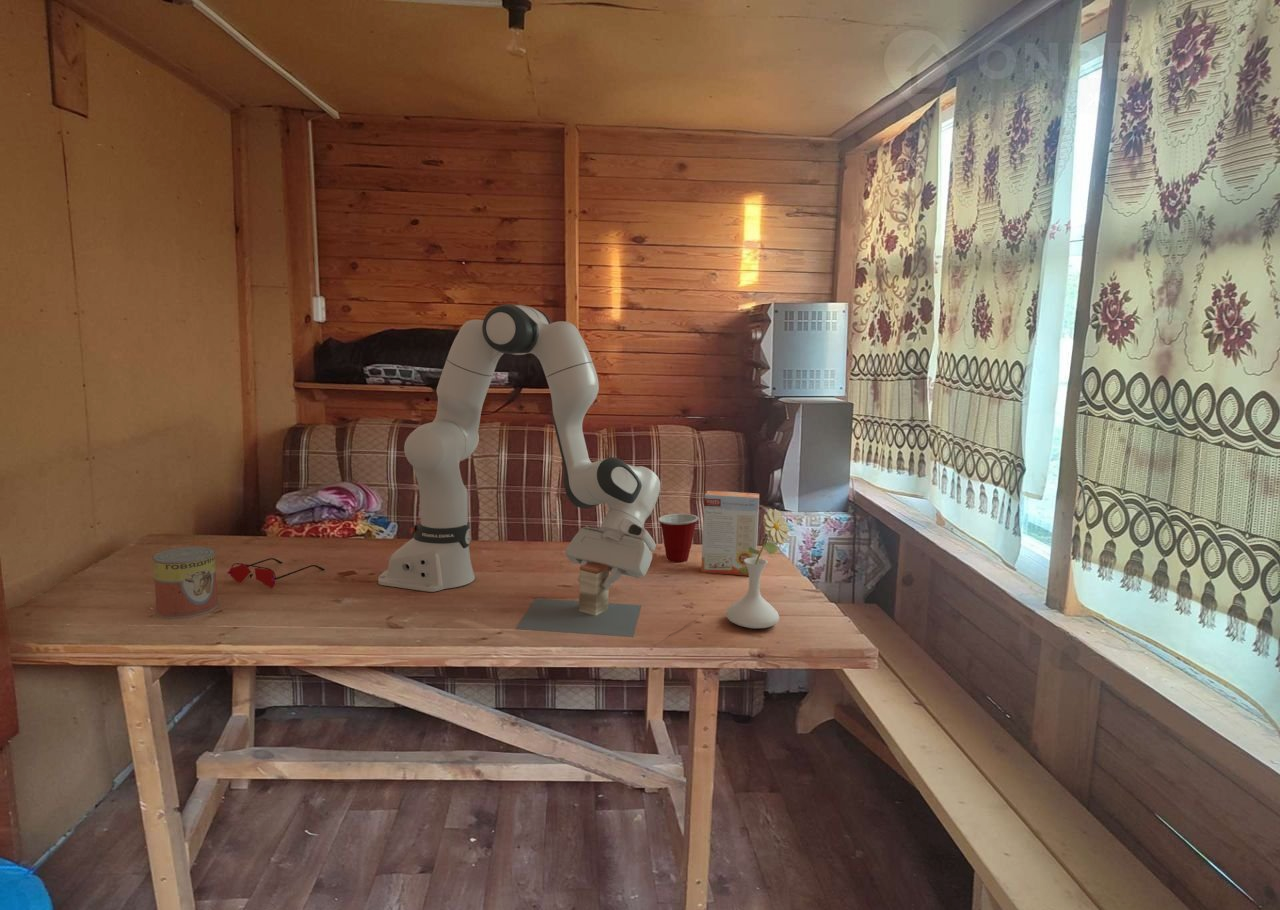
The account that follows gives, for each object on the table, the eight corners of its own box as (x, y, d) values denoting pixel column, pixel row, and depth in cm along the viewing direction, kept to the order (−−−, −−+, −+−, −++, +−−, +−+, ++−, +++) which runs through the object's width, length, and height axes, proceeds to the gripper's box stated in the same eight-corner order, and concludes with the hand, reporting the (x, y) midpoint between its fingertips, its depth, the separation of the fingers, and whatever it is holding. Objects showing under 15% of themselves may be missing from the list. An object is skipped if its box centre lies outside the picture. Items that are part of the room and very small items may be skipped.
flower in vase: (743, 636, 155) (749, 517, 151) (715, 617, 165) (721, 505, 161) (796, 628, 160) (804, 513, 156) (766, 610, 170) (773, 501, 166)
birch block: (595, 615, 161) (596, 570, 160) (579, 610, 164) (579, 566, 162) (608, 609, 165) (609, 565, 163) (591, 605, 167) (592, 561, 166)
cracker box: (755, 570, 199) (760, 492, 196) (755, 577, 193) (759, 497, 190) (702, 566, 201) (706, 489, 198) (700, 572, 195) (704, 493, 192)
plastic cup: (656, 553, 212) (658, 511, 210) (695, 554, 211) (697, 512, 210) (656, 564, 201) (657, 520, 199) (696, 566, 201) (698, 522, 199)
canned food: (176, 622, 152) (172, 565, 151) (144, 611, 158) (140, 555, 156) (229, 606, 162) (226, 552, 160) (198, 595, 168) (195, 543, 166)
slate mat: (515, 632, 153) (515, 628, 153) (535, 601, 170) (535, 598, 170) (633, 640, 151) (633, 636, 151) (641, 608, 168) (641, 605, 168)
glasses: (226, 583, 177) (225, 562, 177) (281, 563, 193) (280, 544, 192) (273, 591, 173) (272, 570, 172) (325, 571, 188) (324, 551, 188)
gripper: (577, 516, 173) (548, 568, 166) (652, 531, 162) (625, 587, 155) (588, 531, 177) (561, 582, 171) (662, 547, 166) (636, 602, 160)
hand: (592, 585), depth 163 cm, fingers closed on birch block, 4 cm apart
